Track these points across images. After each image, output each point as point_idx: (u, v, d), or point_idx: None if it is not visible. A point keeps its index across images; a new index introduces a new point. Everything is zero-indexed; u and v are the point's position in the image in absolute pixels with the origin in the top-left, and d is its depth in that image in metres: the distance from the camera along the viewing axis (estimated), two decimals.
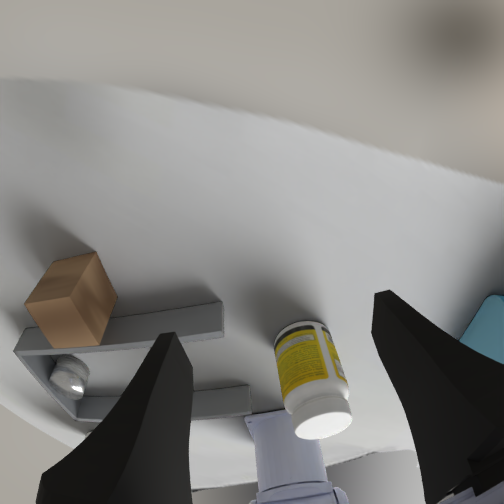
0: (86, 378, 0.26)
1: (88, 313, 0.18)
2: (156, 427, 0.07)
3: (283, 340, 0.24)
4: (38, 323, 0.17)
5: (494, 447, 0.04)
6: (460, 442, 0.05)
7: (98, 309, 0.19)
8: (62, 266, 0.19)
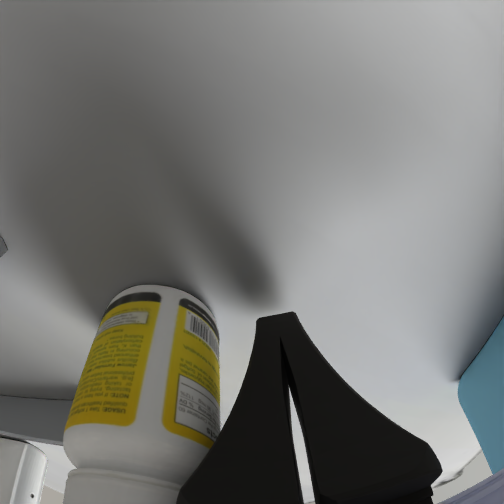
0: None
1: None
2: None
3: (101, 321, 0.10)
4: None
5: None
6: (316, 490, 0.05)
7: None
8: None
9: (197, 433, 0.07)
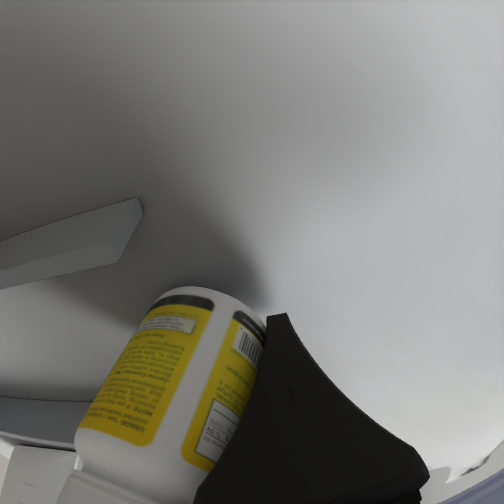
0: None
1: None
2: None
3: (145, 316, 0.10)
4: None
5: None
6: None
7: None
8: None
9: None
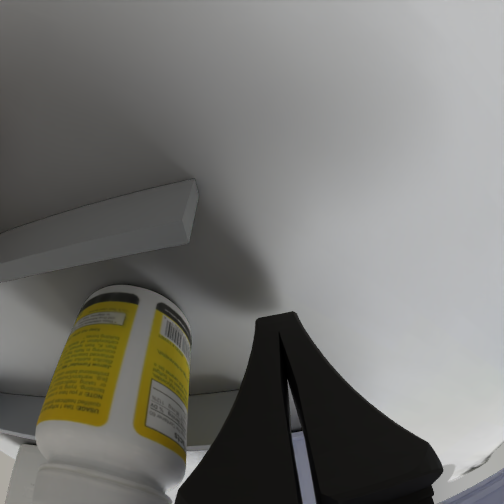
0: None
1: None
2: (286, 413, 0.07)
3: (78, 316, 0.10)
4: None
5: None
6: (316, 490, 0.05)
7: None
8: None
9: (165, 437, 0.07)
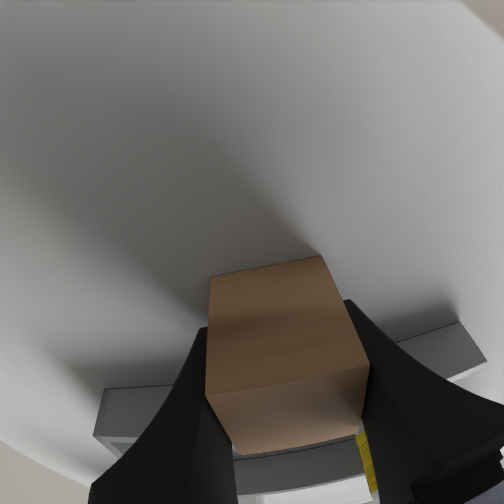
0: None
1: None
2: (209, 424, 0.07)
3: None
4: (228, 425, 0.08)
5: (435, 477, 0.04)
6: (403, 466, 0.05)
7: None
8: (254, 288, 0.10)
9: None
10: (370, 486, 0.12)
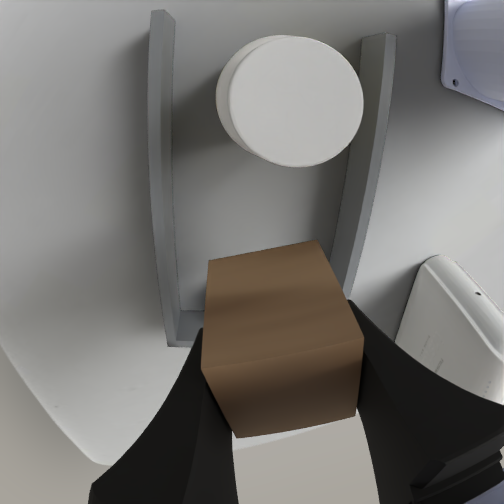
0: None
1: None
2: (209, 424, 0.07)
3: None
4: (224, 403, 0.08)
5: (435, 477, 0.04)
6: (403, 466, 0.05)
7: None
8: (251, 269, 0.11)
9: None
10: None
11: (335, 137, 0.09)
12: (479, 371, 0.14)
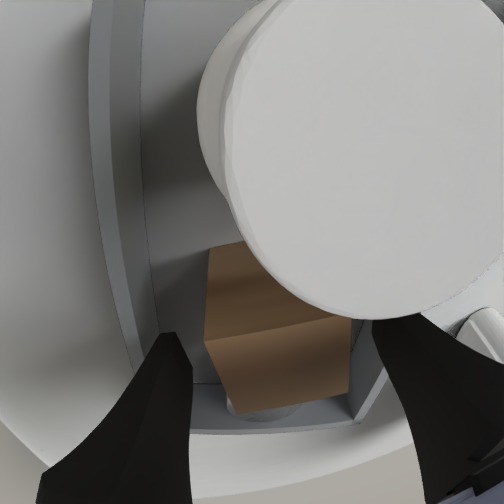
0: None
1: None
2: (156, 427, 0.07)
3: None
4: (225, 376, 0.09)
5: (494, 447, 0.04)
6: (460, 442, 0.05)
7: None
8: (249, 254, 0.12)
9: None
10: None
11: (483, 249, 0.03)
12: None
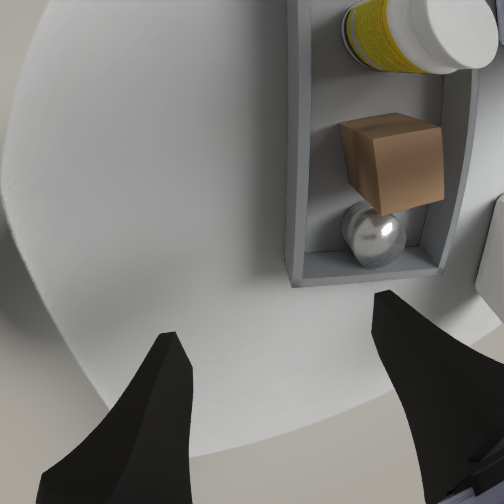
0: None
1: None
2: (156, 427, 0.07)
3: (354, 48, 0.14)
4: (380, 171, 0.14)
5: (494, 447, 0.04)
6: (460, 442, 0.05)
7: None
8: (368, 121, 0.16)
9: None
10: (422, 71, 0.11)
11: (487, 51, 0.08)
12: None
